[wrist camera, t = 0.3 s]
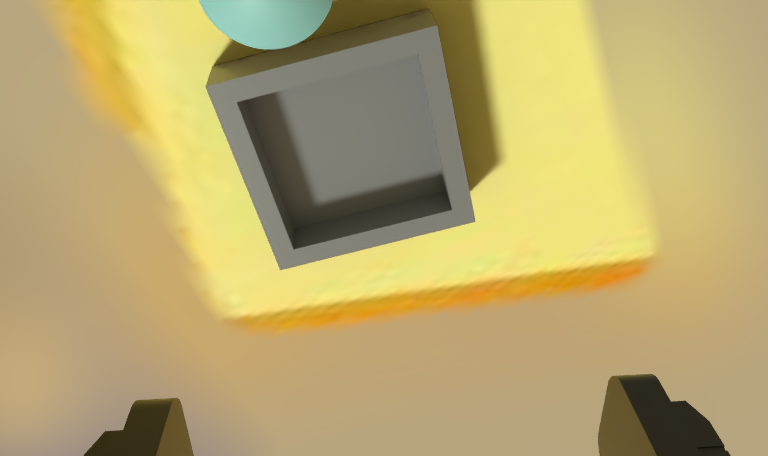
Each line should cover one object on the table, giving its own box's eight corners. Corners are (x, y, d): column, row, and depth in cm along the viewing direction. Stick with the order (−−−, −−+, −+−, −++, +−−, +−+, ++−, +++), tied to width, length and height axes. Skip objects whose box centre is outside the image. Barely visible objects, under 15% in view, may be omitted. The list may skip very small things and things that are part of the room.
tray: (212, 66, 31) (205, 86, 29) (428, 8, 30) (437, 25, 28) (281, 242, 36) (280, 270, 34) (465, 196, 36) (475, 221, 34)
